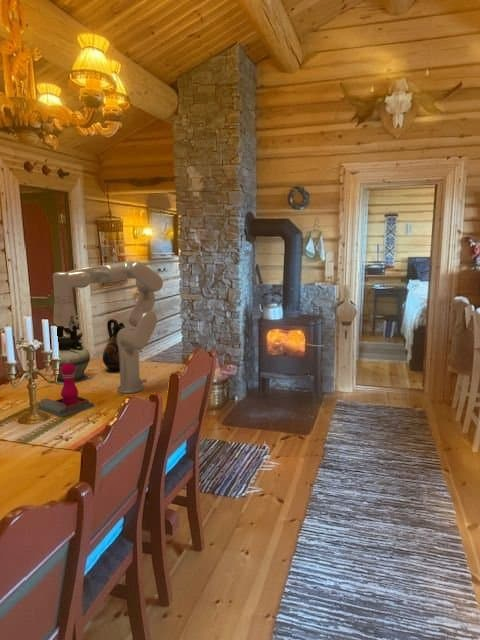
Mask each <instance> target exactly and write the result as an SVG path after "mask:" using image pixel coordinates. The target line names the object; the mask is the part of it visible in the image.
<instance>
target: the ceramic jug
mask: <svg viewBox="0 0 480 640" xmlns="http://www.w3.org/2000/svg"><path fill="white" fill-rule="evenodd" d="M112 324H113V326H112ZM106 327H107V331H108V336H109V339H108V342H107V344H106V345H105V347H104V349H103V352H102V363H103V364H104V366H105V367H106V368H107V371H108V372H110V373H120V362H119V349H118V344H117V334H118V332H119V331H120V330H121V329H123V328H126V326H125V324H124V323H123V322H120V323H118V321H117V319H114V318H111V319H108V321H107V325H106Z"/></svg>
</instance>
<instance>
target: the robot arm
mask: <svg viewBox="0 0 480 640" xmlns="http://www.w3.org/2000/svg"><path fill="white" fill-rule="evenodd" d="M130 279H133V280H135V285H136V289H137V292H138V297H137V298H138V299H137V300H136V303H135V305H134V307H132V308H133V309H132V310H131V312H130V314H129V316H128V322H129V325H131V326H132V327H134V328H132V327H125V328H123V329H121V330H120V331H119V332H118V334H117V344H118V349H119V362H120V372H119V378H120V379H119V381H120V382H119V383H120V386H118V387H117V392H118V393H121V394H135V393H139V392H141V391H143V390H144V386H143V384H144V383H147V382H148V381H147V378H143V379H141V377H140V376H141V374H140V352H139V350H140V351H141V350H142V349H143V348H145V347H146V346H147V344H148V342H149V340H150V338H151V336H152V334H153V333H154V330H155V329H156V326H157V323H158V322H157V321H158V320H157V319H158V317H157V314H156V313H155V312H154V311H153V309H154V305H155V302H156V295H155V292H159V291H161V290H162V288H163V285H164V281H163V278H162V277H161V276H160V275H159V274H158V273H157V272H156V271H154V270H153V269H151V268H150V267H149V266H148V265H146V264H145V263H144V262H141V261H136V260H135V261H134V260H128V261H125V260H124V261H119V262H113V263H108V264H103V265H97V266H90V267H84V268H78V269H72V270H69V271H57V272H53V274H52V283H53V295H54V298H53V299H54V305H53V317H52V322H53V326H54V325H55V326H56V327H57V336H58V338H60V337H63V336H64V335H63V328H62V326H63V327H69V328H70V330H71V331H70V340H75V339H77V330H78V329H77V328H78V325H79V323H80V321H79V320H78V318H77V319H76V315H77V314H76V310H75V309H76V308H75V305H74V295H73V288H79V289H84V288H87V287H88V286H90V285H91V284H109V283H114V282H120V281H124V280H130ZM72 326H73V328H72ZM79 326H80V325H79Z"/></svg>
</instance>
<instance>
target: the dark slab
mask: <svg viewBox="0 0 480 640" xmlns="http://www.w3.org/2000/svg"><path fill="white" fill-rule="evenodd" d="M76 398H77V401H78V402H77V403H74V404H71V405H66V404H64V403H63V399H64V398H58V399H50V398H47V397H45V398H42V399H40V404H39V405H37V409H38V408H39V409H38V410H40V411H44V412H46V413H49V414H51V415H54V416H56V417H57V416H58V417H59V418H60V417H61V418H64V417H68V416H71V415H74V414H76V413H80V412H82V411H85V410H88V409H90V408H94V407H95V403H93V402H90V401H89V400H90V399H88V398H85V397H82V396H78V395H77V397H76Z"/></svg>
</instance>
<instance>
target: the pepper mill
mask: <svg viewBox="0 0 480 640" xmlns="http://www.w3.org/2000/svg"><path fill="white" fill-rule="evenodd" d="M74 371H75V366H74V364H72V363H70V361H69V360H66V363H65V364H63V365H62V367H61V372H62V373H63V378H64V384H62V385H63V386H62V389H61V391H60V392H61V393H60V396H61V397H62V398H64V399H63V403H64V404H66V405H71V404H74V403H77V402H78V401H77V398H76V397H77V396H78V395H79V390H78V388H77V386H76V384H75V383H76V382H74Z"/></svg>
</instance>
